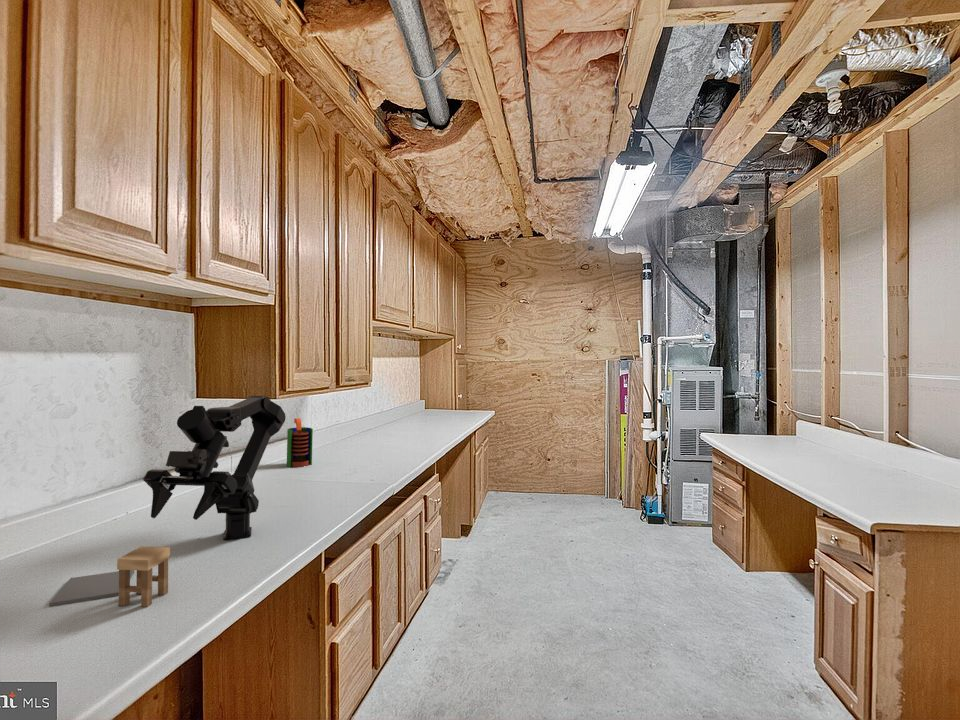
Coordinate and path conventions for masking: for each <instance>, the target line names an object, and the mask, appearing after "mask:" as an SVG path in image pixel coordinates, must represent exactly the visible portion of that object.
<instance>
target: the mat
mask: <svg viewBox="0 0 960 720" xmlns="http://www.w3.org/2000/svg"><path fill="white" fill-rule="evenodd" d="M134 573H135V570H130V579H131V578H132V576H133V575H134ZM117 596H118V597H119V570H118V571H111V572H103V573H97V574H96V573H95V574H90V575H81V576H75V577H70V579H68V581H67V582H65V584H64V585H63V586H62V588H61V589H60V590H59V591H58V592H57V593H56V594H55V595H54V597H53V598H52V599H51V601H49V603H48V604H49V605H48V606H49V607H55V606H60V605H67V604H72V603H78V602H85V601H92V600H97V599H98V600H99V599H104V598H111V597H117Z"/></svg>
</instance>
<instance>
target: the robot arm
mask: <svg viewBox="0 0 960 720" xmlns="http://www.w3.org/2000/svg"><path fill="white" fill-rule="evenodd" d="M247 418H250V419H251V424H252V427H253V431H252V433H251V436H250V437H249V440H248V442H247V444H246V446H245V448H244V451H243V453H242V455H241V458H240V459H239V462H238V464H237V466H236V468H235V470H234V473H233V474H231V473H230V471H217V470H216V471H213V470H214V469H217V468H218V467H219V463H218V459H219V456H220V454H221V452H222V451H223V448H229V446H230V444H229V443H230V442H229V440H228V438H227V437H228V436H226V435H225V434H223V432H226V433H229V432H230V433H231V432H232V433H233V432H235V431H236V430H238V429H239V427H241V426H242V421H243V420H245V419H247ZM286 419H287V417H286V413H285V411H284V409H283V408H282V407H281V406H280V405H279V404H277V403H275V402H274V401H272V399H270V397H269V396H267V395H251V396H249V397H248V398H245V399H243V400H241V401H239V402H236V403H233V404H232V405H230V406H218V407H211V408H208V409H207V410H206V408H205V406H203V405H194V406H193V408H192V409H189V410H188V411H187V410H186V411H185V412H184V413H183V414H180V416H178V418H177V421H176V424H177V427H178V428H179V429H180V431H181V432H182V433H183V434H184V435H185V436H186V437H187V439H188V440H189V441H190V442H191V443H194V446H193V448H192V450H187V451H185V450H184V451H183V450H181V451H180V450H179V451H178V450H169V454H168V456H167V460H166V464H165V467H173V468H174V472H175V473H176V474H179V475H172V474H171V472H170V471H168V470H167V469H153V468H152V469H150V470H148V471H147V472H146V474H145V475H144V477H143V478H142V481H144V483H146V485H147V486H148V487H149V488H151V490H152V502H151V511H150V518H152V519H156V518H157V517H158V515H159V514H160V513H161V512H162V510H163V508H165V506H166V504H167V503H168V502H169V500H170V498H171V497H172V495H173V492H172V491H174V490H175V488H176V487H177V486H191V487H192V486H195V487H198V486H199V487H204V488H203V494H202V495H201V498H200V500H199V502H198V504H197V506H196V507H195V511H194V513H193V516H192V519H194V520H195V521H197V520H198V519H199V518H201V517H202V516H203V515H204V514H205V513H206V512H208V511H209V509H211V508H212V507H213V506H214V505H215V508H216V512H217V514H225V529H224V532H223V537H222V540H224V541H225V540H231V539H233V540H234V539H239V538H241V539H242V538H249V537H252V531H253V530H252V526H251V522H250V521H251V514H252V513H253V514H254V513H256V512H257V510H258V508H259V502H260V501H259V500H260V499H258V497H257V496H256V494H255V487H254V484H253V479H254V476H255V474H256V472H257V470H258V467H259V465H260V463H261V461H262V458H263V456H264V453H265V451H266V448H267V446H268V444H269V443H270V439H271V437H273V436H275V434H277V433H279V432H280V430H281V428H282V426H283V425H284V424H285V422H286Z"/></svg>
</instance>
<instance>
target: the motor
mask: <svg viewBox="0 0 960 720" xmlns="http://www.w3.org/2000/svg"><path fill="white" fill-rule="evenodd" d="M293 424H295V425H296V426H295V427H290V428H287V431H286V432H287V433H286V436H287V437H286V438H287V439H286V440H287V441H286V467H287V468H289V467H290V468H305V467H304V466H306V467H308V466H309V465H310V466H312V464H313V435H314V433H313V431H314V430H313V429H314V428H312V427H308V426H307V427H306V426H305V427H304V426H303V427H302V420H301V418H300V417H298V418H294V419H293Z"/></svg>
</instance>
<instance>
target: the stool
mask: <svg viewBox="0 0 960 720" xmlns="http://www.w3.org/2000/svg"><path fill="white" fill-rule="evenodd" d="M170 557H171V547H170V546H145V545H143V546H142V545H141V546H139V547H137V548H135V549H133V550H131V551H129V552H128V553H126V554H123V555H122V556H120V557H118V558H117V559H116V560H117V561H116V569H117V570H118V571H119V595H118V606H119V607H126V606H128V605H129V604H130V603H131V597H130V596H131V593H135V594H136V595H140V607H141V608H149V606H151V605H152V604H153V582H156V583H157V596H165V595H167V593H169V558H170ZM156 566H157V575H153V569H154V567H156ZM130 570H134V571H136V584H135V585H131V578H130Z"/></svg>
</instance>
